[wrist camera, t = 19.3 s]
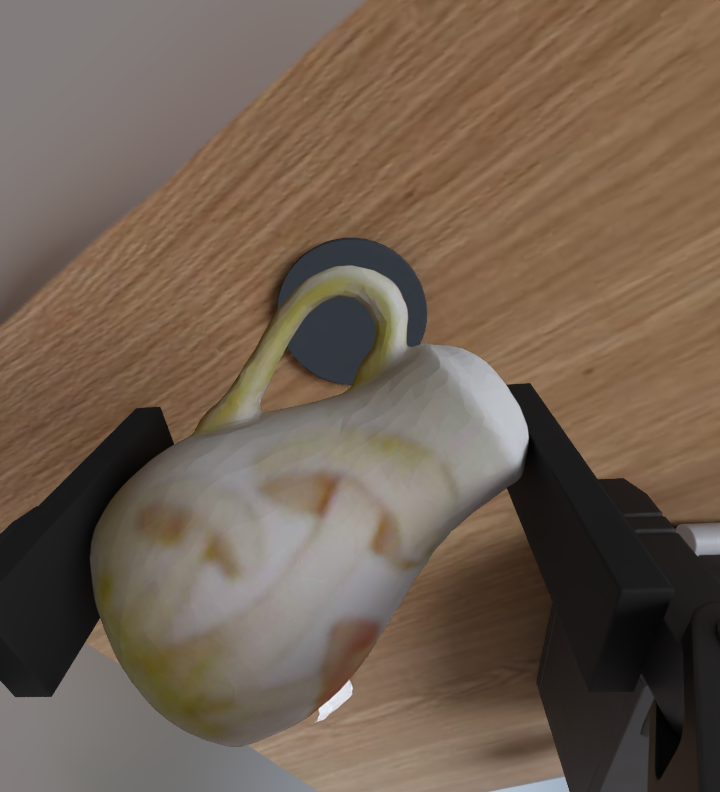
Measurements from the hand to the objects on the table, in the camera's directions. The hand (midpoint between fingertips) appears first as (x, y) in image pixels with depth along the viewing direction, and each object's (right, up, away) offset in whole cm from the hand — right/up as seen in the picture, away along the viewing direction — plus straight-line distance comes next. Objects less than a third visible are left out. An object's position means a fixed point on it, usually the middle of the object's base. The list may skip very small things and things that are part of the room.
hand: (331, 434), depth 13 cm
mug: (0, 0, 0) cm, 0 cm away
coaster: (0, +6, +10) cm, 12 cm away
